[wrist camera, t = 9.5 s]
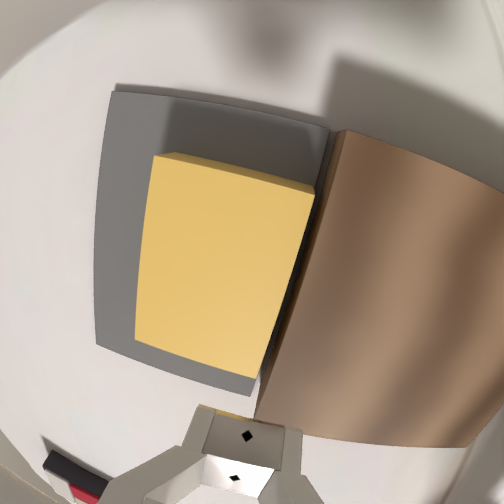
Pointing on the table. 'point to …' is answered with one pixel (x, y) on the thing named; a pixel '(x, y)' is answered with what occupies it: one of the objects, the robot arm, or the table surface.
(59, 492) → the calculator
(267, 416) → the panel
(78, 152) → the table surface
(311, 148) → the mat
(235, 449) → the robot arm
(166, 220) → the yellow rectangular block
